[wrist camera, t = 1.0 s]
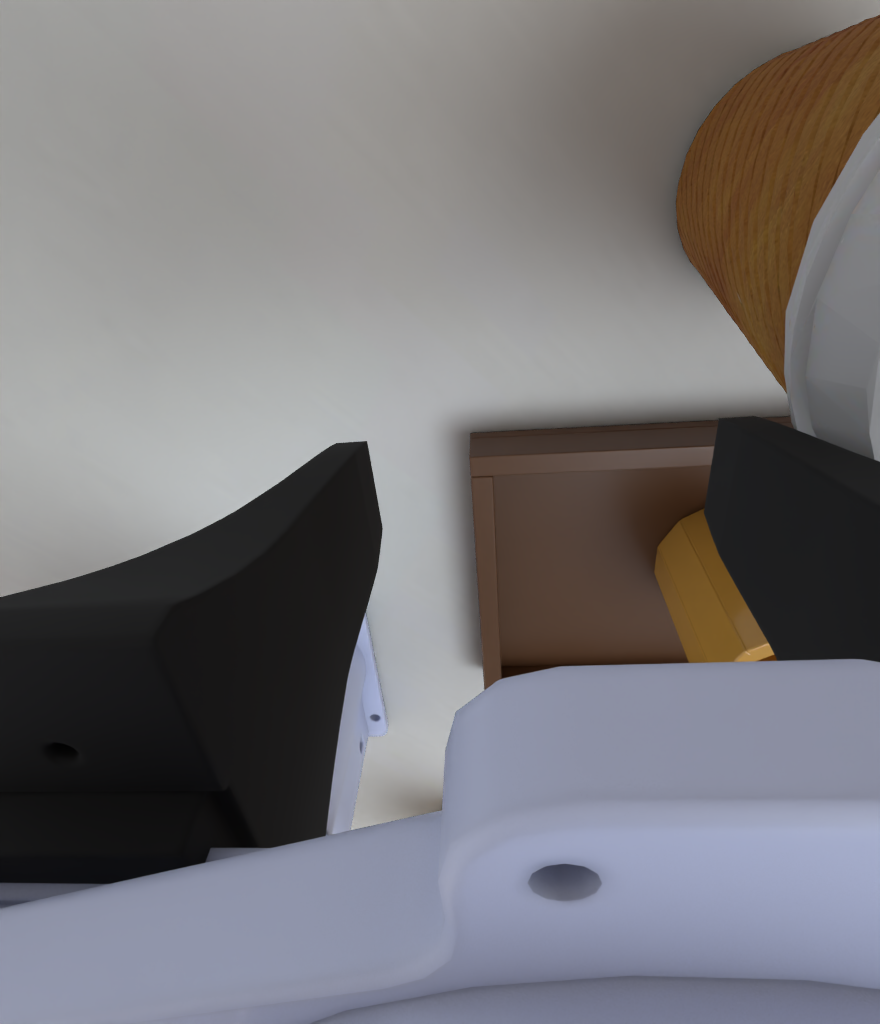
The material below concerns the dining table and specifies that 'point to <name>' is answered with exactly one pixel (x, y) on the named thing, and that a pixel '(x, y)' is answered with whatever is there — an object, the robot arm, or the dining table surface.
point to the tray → (581, 541)
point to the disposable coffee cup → (799, 226)
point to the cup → (706, 598)
